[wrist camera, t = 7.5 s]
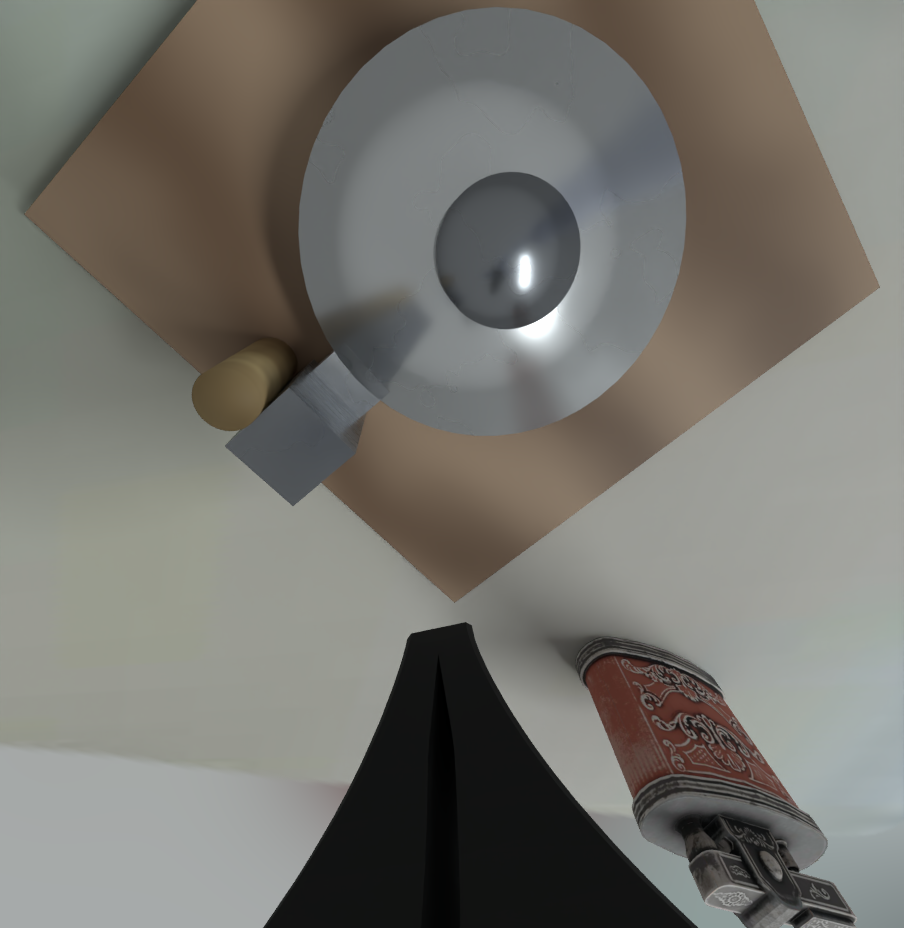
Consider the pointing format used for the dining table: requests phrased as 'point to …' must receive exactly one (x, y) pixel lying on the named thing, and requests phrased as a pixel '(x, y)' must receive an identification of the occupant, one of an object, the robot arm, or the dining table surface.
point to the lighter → (708, 788)
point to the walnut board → (283, 286)
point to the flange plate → (440, 151)
